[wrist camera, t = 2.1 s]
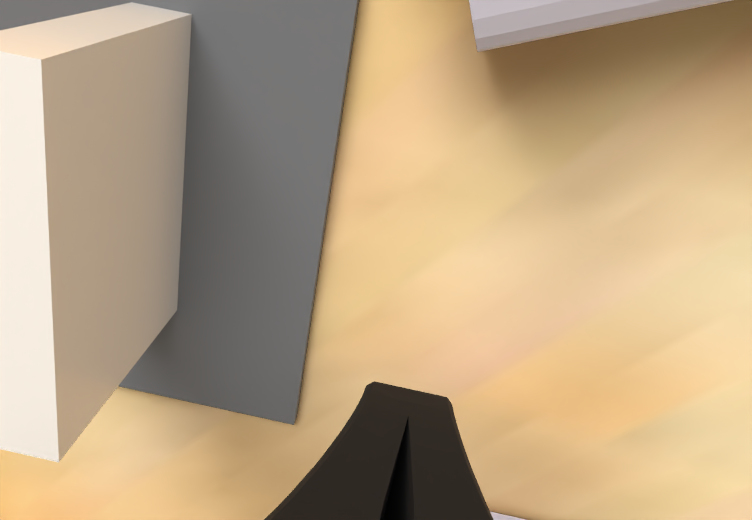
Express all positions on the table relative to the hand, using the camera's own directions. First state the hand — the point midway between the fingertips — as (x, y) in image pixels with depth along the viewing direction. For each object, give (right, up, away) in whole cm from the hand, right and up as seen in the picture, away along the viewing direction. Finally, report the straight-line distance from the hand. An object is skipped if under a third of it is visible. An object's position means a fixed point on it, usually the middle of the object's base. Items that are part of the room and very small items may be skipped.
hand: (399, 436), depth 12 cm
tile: (-7, +6, +8) cm, 12 cm away
